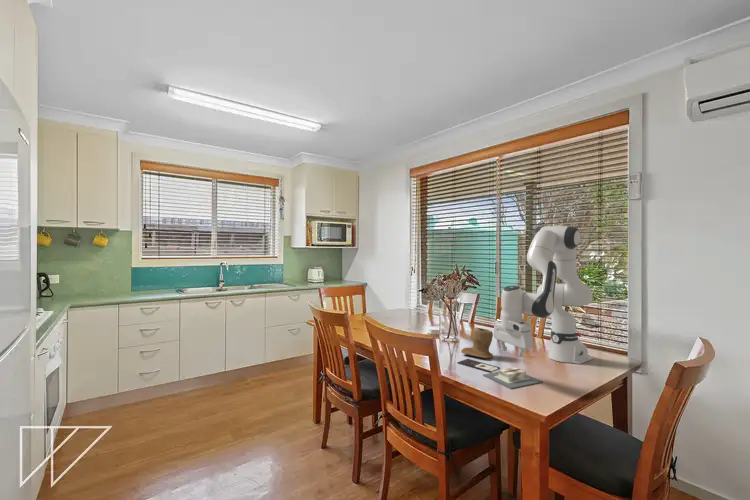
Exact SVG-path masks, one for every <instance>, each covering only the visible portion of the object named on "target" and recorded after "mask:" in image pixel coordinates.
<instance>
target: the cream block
mask: <svg viewBox="0 0 750 500" xmlns="http://www.w3.org/2000/svg"><path fill="white" fill-rule="evenodd" d="M498 372H499V377H500V378H502V379H504V380H506V381H508V382H509V381H514V380H519V379H524V378H526V375H527V371H526V370H523V369H521V368H519V367H510V368H509V367H508V368H503V369H498Z"/></svg>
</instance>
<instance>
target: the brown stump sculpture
mask: <svg viewBox="0 0 750 500" xmlns="http://www.w3.org/2000/svg"><path fill="white" fill-rule="evenodd" d="M471 337H472V344H473V345H472V347H463V348H462V349H461V353H462V354H464V355H468V356H472V357H477V358H480V359H491V358H493V356H494V354H493V353H491V352H490V350H489V349H490V346H491V344H492V341H493V338H494V336H493V331H492V330H490V329H487V328H482V327H481V328H480V327H474V328H473V329H472V335H471Z"/></svg>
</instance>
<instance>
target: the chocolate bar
mask: <svg viewBox="0 0 750 500" xmlns="http://www.w3.org/2000/svg"><path fill="white" fill-rule="evenodd" d="M456 363H457V364H458V365H462V366H465V367H468V368H471V369H475V370H479V371H482V372H486V373H494V372H496V371H497V370H500V366H496V365H492V364H489V363H484V362H482V361H478V360H474V359H470V358H466V359H463V360H460V361H457V362H456Z"/></svg>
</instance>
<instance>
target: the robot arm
mask: <svg viewBox="0 0 750 500" xmlns="http://www.w3.org/2000/svg"><path fill="white" fill-rule="evenodd" d="M581 237H582V235H581V231H580V229H579V228H578V227H574V226H571V225H570V226H566V225H548V226H545V225H541V226H537V227H536V228H535V229H534V230H533V231H532V234H531V240H532V241H531V242H530V245H529V248H528V250H527V252H526V253H527V254H526V261H527V263H528V264H529V266H530V267H531V268H533V270H536V271H538V272H539V273H541V274H542V277H543V278H542V283H541V284H540V285H539V286H538V287H537V289H536V293H533V292H529V291H527V292H526V291H525V290H523V289H521V287H520V286H519V285H508V286H505V287H503V288H502V291H501V297H500V299H501V301H500V307H501V310H502V311H501V314H500V317H501V318H500V319H499V318H498V319H496V320H495V321H494V326H493V331H492V333H493V338H494V339H495V340H498V341H499V345H500V347H501V351H502V352H507V351H508V350H507V349H508V347H507V346H506V344H509V345H512V346H513V347H514V346H515V347H517V348H518V350H519V352H516V355H517V357H518V358H523V356H524V352H525V350H529V349H530V350H531V349H532V348H533V344H534V343H533V341H534V339H533V333H532V330H533V326H532V324H530V323H528V322H527V321H526V320H525V319H524V318H523V314H524V315H525V314H526V315H531V316H535V317H537V318H542V319H546V318H547V317H549V316H550V318H551V329H550V341H549V349H548V351H547V356H548V358H549V359H550V360H552V361H557V362H561V363H567V364H568V363H569V364H571V363H572V364H577V365H580V364H583V363H586V362H588V361H592V360H593V359H594V356H592V355H590V354H588V353H589V352H588V350H589V349H588V347H587V346H586V345H585V344H584V343H583V342H582V341H580V340H579V338H581V337H582V333H581V332H577V331H576V330H577V329H576V325H577V323H576V320H577V319H576V317H575V316H574V315H573V314H572V313H570V312H568V311H566V310H565V309H564V308H563V306H569V307H571V306H572V307H573V306H574V307H585V306H588V305H590V304H591V303H592V301H593V296H594V295H593V291H592V289H591V288H590V287H589V286H587V285H586V284H585V283H584V282H583V281H582V280H581V279H580V277H579V275H578V272H577V271H578V270H577V254H576V253H577V252H576V247H578V246H579V245H580V243H581ZM557 278H559V279H561V280H562V281H564V283H557ZM505 343H506V344H505Z"/></svg>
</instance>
